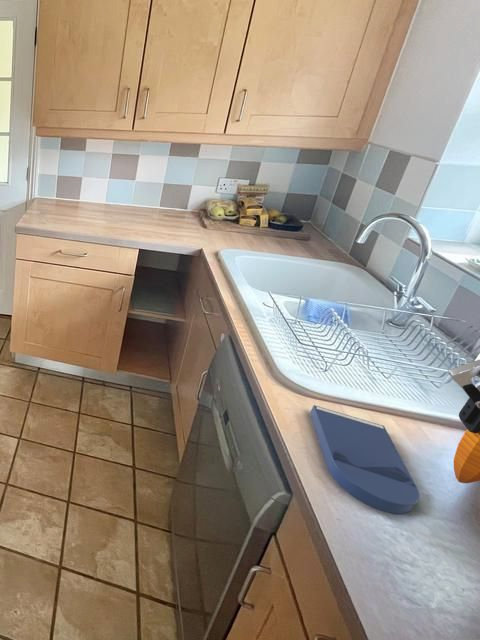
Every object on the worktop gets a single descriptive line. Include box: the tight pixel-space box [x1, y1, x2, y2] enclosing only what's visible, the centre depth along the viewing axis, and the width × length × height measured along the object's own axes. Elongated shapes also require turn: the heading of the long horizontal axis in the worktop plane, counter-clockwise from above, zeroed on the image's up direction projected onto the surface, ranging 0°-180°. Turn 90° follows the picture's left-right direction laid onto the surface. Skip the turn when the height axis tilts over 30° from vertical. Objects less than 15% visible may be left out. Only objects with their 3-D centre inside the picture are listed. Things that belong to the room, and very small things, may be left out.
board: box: [309, 404, 420, 515], centre depth 80 cm, size 12×22×3 cm, turn 153°
